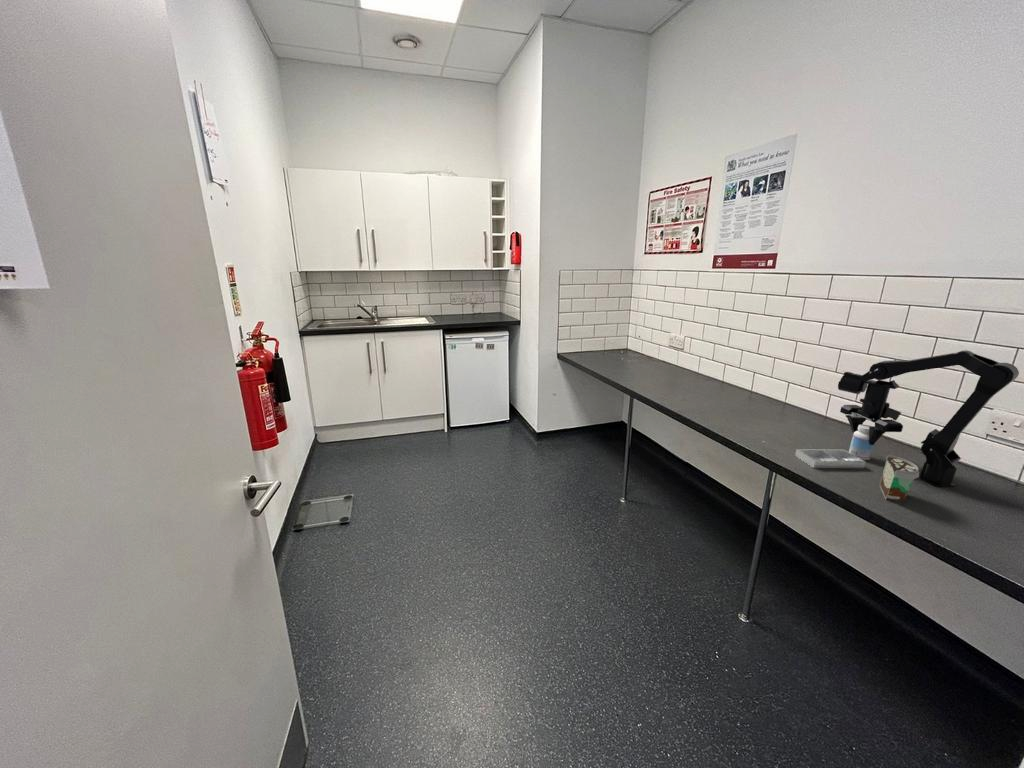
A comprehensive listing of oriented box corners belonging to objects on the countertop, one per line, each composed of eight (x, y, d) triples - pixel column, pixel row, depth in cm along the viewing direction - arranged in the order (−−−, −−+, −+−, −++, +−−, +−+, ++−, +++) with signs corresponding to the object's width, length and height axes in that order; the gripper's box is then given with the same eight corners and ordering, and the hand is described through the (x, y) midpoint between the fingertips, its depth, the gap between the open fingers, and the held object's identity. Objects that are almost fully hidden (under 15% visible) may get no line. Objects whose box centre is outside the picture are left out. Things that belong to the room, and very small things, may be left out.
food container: (915, 509, 114) (926, 476, 112) (886, 502, 118) (896, 470, 115) (905, 489, 124) (914, 459, 122) (878, 483, 128) (887, 454, 125)
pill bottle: (874, 461, 142) (883, 431, 139) (854, 459, 143) (862, 429, 140) (863, 453, 148) (872, 424, 144) (844, 452, 149) (852, 422, 145)
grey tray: (863, 468, 137) (865, 461, 136) (813, 468, 136) (815, 461, 136) (842, 455, 146) (844, 449, 145) (795, 455, 145) (796, 449, 144)
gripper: (926, 407, 130) (911, 453, 135) (874, 389, 148) (863, 430, 153) (891, 407, 130) (878, 452, 134) (844, 389, 148) (834, 430, 152)
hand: (863, 440), depth 143 cm, fingers closed on pill bottle, 6 cm apart
